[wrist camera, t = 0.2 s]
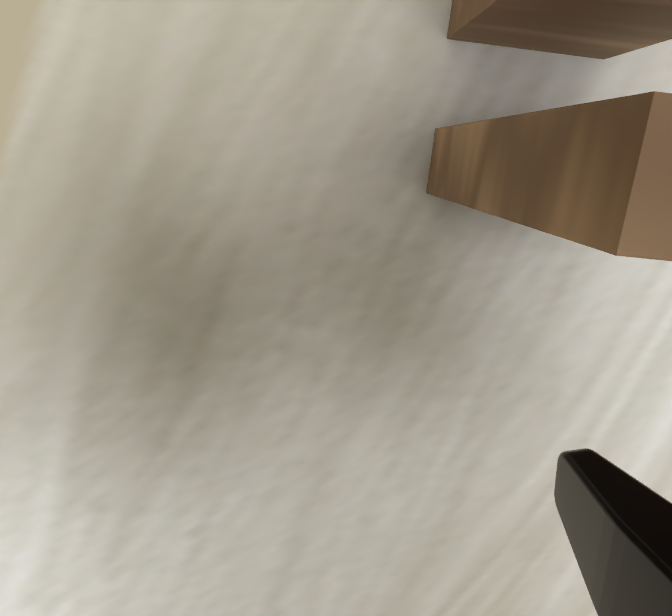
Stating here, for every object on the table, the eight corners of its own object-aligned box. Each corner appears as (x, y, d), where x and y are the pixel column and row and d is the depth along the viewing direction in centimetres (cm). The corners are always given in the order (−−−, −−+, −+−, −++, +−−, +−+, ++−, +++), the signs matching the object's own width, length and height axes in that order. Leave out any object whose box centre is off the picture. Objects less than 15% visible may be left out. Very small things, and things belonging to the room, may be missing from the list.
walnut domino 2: (573, 208, 23) (965, 290, 9) (426, 192, 22) (616, 254, 9) (586, 146, 22) (1025, 138, 9) (435, 128, 22) (654, 91, 8)
